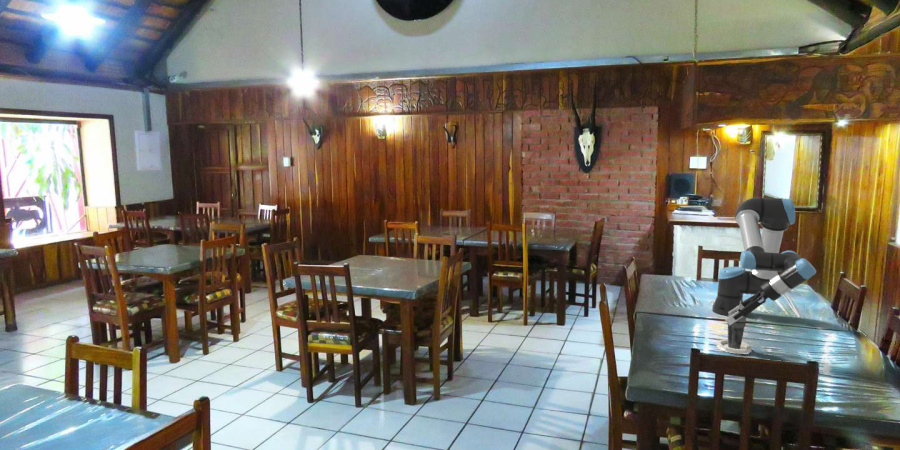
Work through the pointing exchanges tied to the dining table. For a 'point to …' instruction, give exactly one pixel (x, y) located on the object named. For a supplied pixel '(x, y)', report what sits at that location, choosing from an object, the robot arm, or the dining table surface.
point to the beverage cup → (736, 331)
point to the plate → (724, 346)
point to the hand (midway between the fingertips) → (728, 318)
